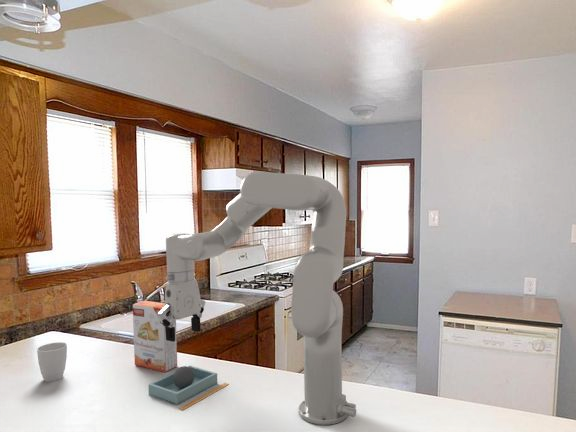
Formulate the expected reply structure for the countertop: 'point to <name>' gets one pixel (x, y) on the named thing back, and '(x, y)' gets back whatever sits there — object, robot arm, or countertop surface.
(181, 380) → the ball
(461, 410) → the countertop surface
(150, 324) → the cracker box
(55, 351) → the cup
